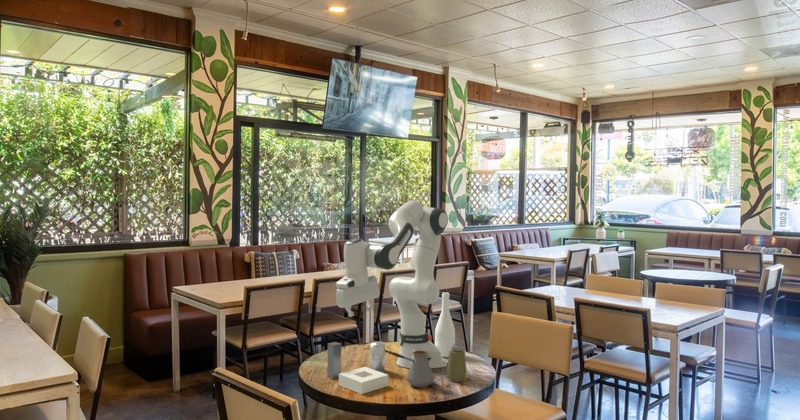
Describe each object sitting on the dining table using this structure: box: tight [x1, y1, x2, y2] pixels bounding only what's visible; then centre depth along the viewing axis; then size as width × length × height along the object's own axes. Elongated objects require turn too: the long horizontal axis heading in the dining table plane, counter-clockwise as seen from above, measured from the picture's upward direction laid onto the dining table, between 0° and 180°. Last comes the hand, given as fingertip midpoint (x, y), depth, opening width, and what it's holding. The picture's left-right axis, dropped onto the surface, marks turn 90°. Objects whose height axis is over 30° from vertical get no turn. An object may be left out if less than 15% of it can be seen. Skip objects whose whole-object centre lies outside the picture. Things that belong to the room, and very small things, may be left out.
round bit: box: [369, 340, 386, 373], centre depth 244 cm, size 7×7×12 cm
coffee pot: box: [383, 349, 435, 388], centre depth 226 cm, size 21×12×15 cm, turn 108°
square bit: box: [326, 341, 342, 380], centre depth 235 cm, size 4×4×14 cm
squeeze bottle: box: [446, 336, 467, 383], centre depth 233 cm, size 8×8×18 cm
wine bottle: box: [434, 291, 456, 358], centre depth 269 cm, size 10×10×30 cm
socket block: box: [338, 366, 389, 395], centre depth 225 cm, size 14×14×4 cm
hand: (360, 313), depth 225 cm, fingers open, 8 cm apart
